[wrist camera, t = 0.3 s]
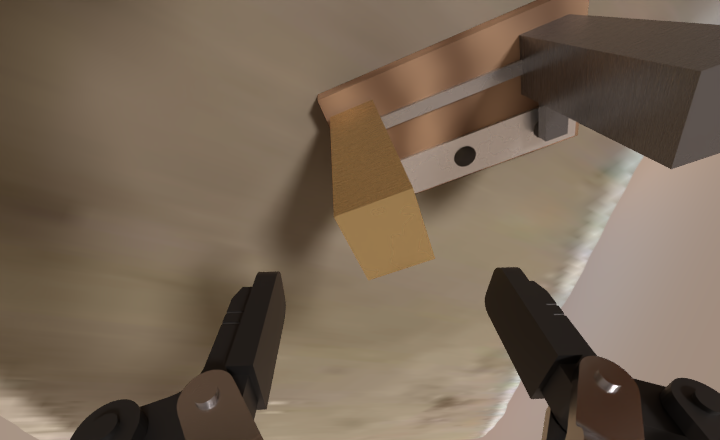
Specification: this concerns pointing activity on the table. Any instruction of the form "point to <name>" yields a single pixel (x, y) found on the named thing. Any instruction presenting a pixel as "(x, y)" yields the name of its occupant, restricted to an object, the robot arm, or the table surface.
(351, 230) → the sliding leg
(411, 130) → the divider base
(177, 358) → the table surface
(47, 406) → the table surface
